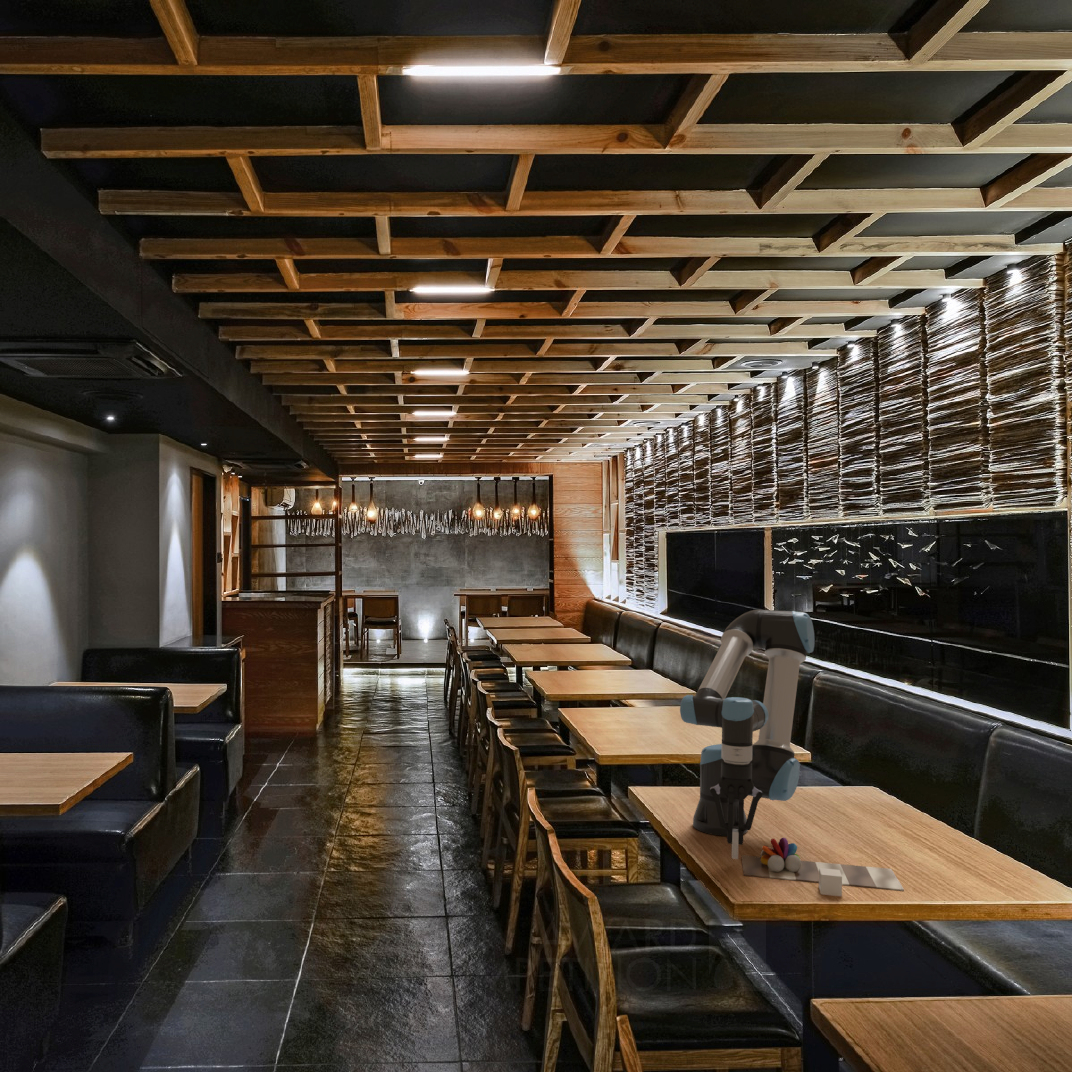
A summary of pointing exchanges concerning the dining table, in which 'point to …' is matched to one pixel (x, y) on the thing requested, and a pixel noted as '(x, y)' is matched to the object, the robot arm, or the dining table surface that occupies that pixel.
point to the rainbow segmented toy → (781, 856)
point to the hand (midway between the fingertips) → (734, 857)
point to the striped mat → (810, 870)
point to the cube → (830, 882)
